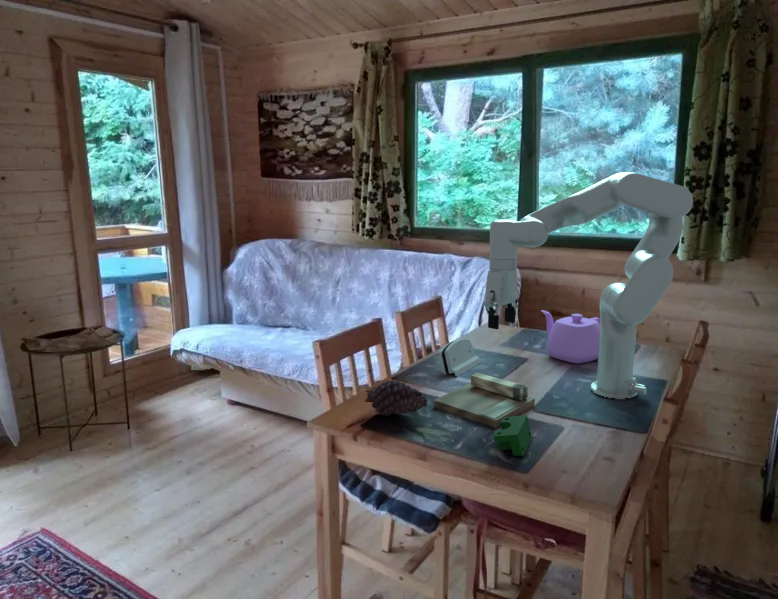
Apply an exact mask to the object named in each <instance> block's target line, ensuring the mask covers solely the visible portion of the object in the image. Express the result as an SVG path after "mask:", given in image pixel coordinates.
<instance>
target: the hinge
mask: <svg viewBox="0 0 778 599" xmlns="http://www.w3.org/2000/svg"><path fill="white" fill-rule="evenodd" d="M438 358H439V362H440V367H441V371H442V374H443V373H444V374H443V375H447V374H454V376H458V375H460V374H461V375H463V374H465V373H467V372H468V371H470V370H471V369H473V368H475V367H476V365H477V364H478V365H480V364H482V360H481V358H480V357H479V356H477V355H476V352H475V349H474V347H473V344H472V342H471V340H470V339H456V340H453V341H450V342H448V343H447V344H445V345H444V346H443V347H442V348H441V349H440V351H439V352H438ZM479 363H480V364H479ZM478 365H477V366H478ZM474 366H475V367H474ZM472 367H473V368H472ZM469 369H470V370H469ZM467 370H468V371H467ZM464 372H465V373H464ZM462 373H463V374H462ZM461 375H460V376H461ZM458 377H459V376H458Z"/></svg>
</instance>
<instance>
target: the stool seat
mask: <svg viewBox="0 0 778 599" xmlns="http://www.w3.org/2000/svg"><path fill="white" fill-rule="evenodd" d="M535 405H536V399H535V398H534V397H531V396H528V397H527V398H526V399H524V400H517V399H514V398H512V397H509V396H505V395H502V394H498V393H495V392H492V391H488V390H485V389H481V388H478V387H475V386H471V382H469V383H467V384H464V385H463V386H461V387H459V388H457V389H455V390H451V391H450V392H448V393H446V394H444V395H442V396H440V397H437V398H436V399H434V400H433V407H434V408H436V407H437V408H436V409H438V408H439V410H441V409H442V411H444V410H445V412H448V413H450V414H453V415H456V416H458V417H462V418H465V419H467V420H471V421H474V422H478V423H480V424H483V425H486V426H489V427H492V428H494V429H497V428H498V427H501V426H500V421H501V419H502V418H505V417H511V416H520V415H521V414H522V413H524V412H525V411H527V410H529V409H530V408H532V407H534V406H535Z"/></svg>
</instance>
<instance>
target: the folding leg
mask: <svg viewBox="0 0 778 599" xmlns="http://www.w3.org/2000/svg"><path fill="white" fill-rule="evenodd" d="M470 383H471V386H475V387H478V388H481V389H485V390H488V391H492V392H495V393H498V394H502V395H505V396H509V397H512V398H514V399H517V400H524V399H526V398H527V397H529V386H527V385H525V384H521V383H517V382H513V381H509V380H506V379H502V378H498V377H494V376H491V375H487V374H484V373H480V372H476V373H474V374H472V375H470Z"/></svg>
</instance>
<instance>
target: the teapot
mask: <svg viewBox="0 0 778 599" xmlns="http://www.w3.org/2000/svg"><path fill="white" fill-rule="evenodd" d="M541 312H542V313H543V315H544V316H545V319H546V333H547V336H548V337H547V341H546V350H547V352H548V355H549V356H550V357H552V358H555V359H558V360H560V361H564V362H568V363H571V364H574V365H575V364H576V365H579V364H582V363H583V364H584V363H589V362H592V361H595V360H598V353H599V338H600V318H599V317H595V316H594V317H591V318H588V317H583V316H584V315H583V314H581V313H573V314H571V316H566V317H562V318H559V319H556V320H555V322H554V318H553V316H552V314H551V312H549V311H547V310H543V309H541Z"/></svg>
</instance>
